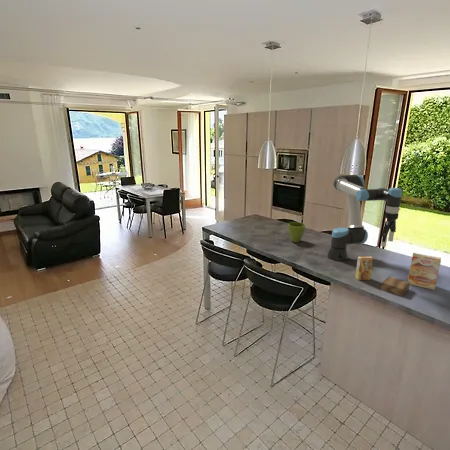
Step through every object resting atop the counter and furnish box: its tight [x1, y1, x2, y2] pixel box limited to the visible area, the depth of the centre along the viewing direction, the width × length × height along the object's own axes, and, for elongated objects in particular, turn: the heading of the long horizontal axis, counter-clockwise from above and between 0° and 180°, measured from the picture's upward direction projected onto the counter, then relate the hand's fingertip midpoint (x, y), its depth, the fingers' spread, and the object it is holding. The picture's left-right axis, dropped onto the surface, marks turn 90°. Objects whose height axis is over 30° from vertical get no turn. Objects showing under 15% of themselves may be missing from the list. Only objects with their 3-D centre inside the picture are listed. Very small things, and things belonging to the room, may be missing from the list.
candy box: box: [354, 255, 374, 281], centre depth 201 cm, size 9×4×15 cm, turn 93°
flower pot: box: [287, 221, 306, 243], centre depth 273 cm, size 15×15×16 cm
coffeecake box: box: [407, 252, 442, 291], centre depth 192 cm, size 15×7×20 cm, turn 56°
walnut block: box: [380, 276, 411, 297], centre depth 188 cm, size 12×12×5 cm
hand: (386, 243), depth 200 cm, fingers open, 13 cm apart
